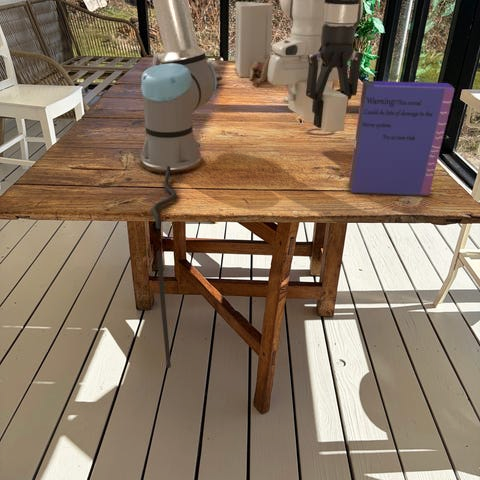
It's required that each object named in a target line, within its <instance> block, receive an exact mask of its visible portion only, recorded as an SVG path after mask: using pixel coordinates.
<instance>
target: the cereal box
mask: <svg viewBox="0 0 480 480" xmlns="http://www.w3.org/2000/svg"><path fill="white" fill-rule="evenodd" d="M454 93H455V88H454V86H453V85H452V84H450V83H448V82H419V81H417V82H415V81H386V80H385V81H381V80H363V82H362V88H361V96H360V100H359V101H360V102H359V108H358V115H357V123H356V130H355V137H354V144H353V151H352V158H351V164H350V172H349V177H348V178H349V179H348V187H349V190H350V193H351V194H373V195H395V196H397V195H398V196H420V197H421V196H423V197H430V193H431V190H432V189H431V188H432V185H433V180H434V176H435V172H436V168H437V164H438V160H439V156H440V152H441V147H442V143H443V139H444V135H445V132H446V126H447V123H448V119H449V118H448V117H449V115H450V110H451V106H452V103H453V97H454Z"/></svg>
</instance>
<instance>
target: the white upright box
mask: <svg viewBox="0 0 480 480" xmlns="http://www.w3.org/2000/svg"><path fill="white" fill-rule="evenodd" d="M273 8H274V4H273V3H269V2H267V3H266V2H265V3H264V2H252V1H235V59H234V60H235V62H234V63H235V65H234V66H235V68H234V69H235V71H236V73H237V75H238V77H239V78H250V75H249V69H250V67H251V66H252V65H253V64H254V62H256V61H258V62H263V63H265V62H266V60H267V59H265V55H269V56H270V57H271V56H272V33H273V32H272V31H273V10H274V9H273Z"/></svg>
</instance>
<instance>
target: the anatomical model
mask: <svg viewBox="0 0 480 480" xmlns="http://www.w3.org/2000/svg"><path fill="white" fill-rule="evenodd" d="M270 58H271V57H270V56H269V55H265V59H267V60H266V62H265V63H263V62H258V61H256V62H254V64H253V65H252V66H251V67H250V69H249V75H250V77H249V81H250V82H252V86H253V87H259V85H261V84H262V83H264V82H266V81H267V82H268V66H269V61H270Z"/></svg>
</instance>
